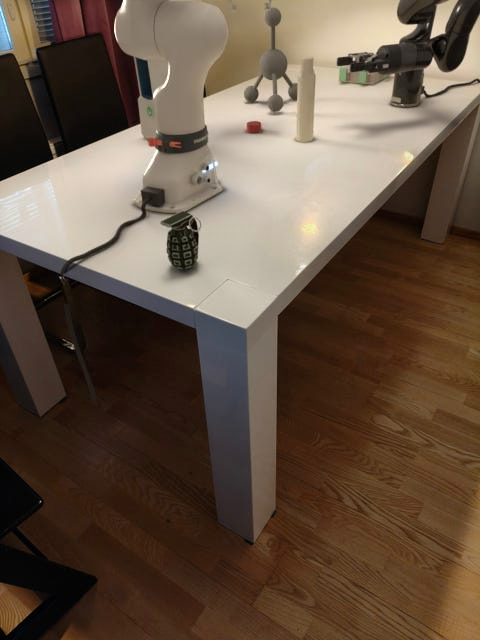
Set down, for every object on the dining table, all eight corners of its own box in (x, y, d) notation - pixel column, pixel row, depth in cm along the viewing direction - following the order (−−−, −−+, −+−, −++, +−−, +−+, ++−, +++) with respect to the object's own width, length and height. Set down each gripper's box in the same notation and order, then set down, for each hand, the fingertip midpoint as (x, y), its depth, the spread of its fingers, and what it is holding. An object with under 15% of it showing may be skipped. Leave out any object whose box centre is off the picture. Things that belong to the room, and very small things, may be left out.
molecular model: (322, 103, 175) (328, 5, 157) (274, 116, 166) (273, 12, 147) (282, 92, 191) (282, 1, 172) (235, 103, 181) (230, 8, 163)
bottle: (309, 135, 148) (312, 55, 135) (315, 140, 144) (319, 58, 131) (294, 137, 147) (295, 57, 134) (299, 142, 143) (301, 60, 130)
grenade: (182, 278, 88) (175, 228, 82) (162, 268, 91) (153, 219, 85) (208, 263, 92) (203, 214, 85) (187, 253, 95) (181, 205, 89)
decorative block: (357, 54, 211) (402, 57, 202) (356, 70, 215) (400, 74, 206) (330, 65, 195) (377, 69, 186) (329, 83, 199) (375, 87, 190)
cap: (243, 131, 155) (243, 123, 153) (254, 127, 157) (254, 120, 156) (253, 134, 152) (253, 126, 151) (264, 130, 154) (264, 122, 153)
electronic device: (141, 137, 154) (123, 28, 136) (159, 131, 158) (144, 24, 140) (166, 145, 147) (151, 30, 129) (185, 138, 151) (172, 26, 133)
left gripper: (209, -49, 124) (213, 15, 132) (289, -54, 124) (288, 10, 133) (208, -49, 128) (212, 12, 137) (285, -54, 129) (285, 8, 138)
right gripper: (385, 40, 142) (333, 45, 139) (411, 48, 131) (356, 54, 128) (381, 68, 147) (332, 74, 144) (406, 78, 136) (353, 85, 133)
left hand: (250, 11), depth 135 cm, fingers open, 8 cm apart
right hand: (343, 64), depth 136 cm, fingers open, 8 cm apart
